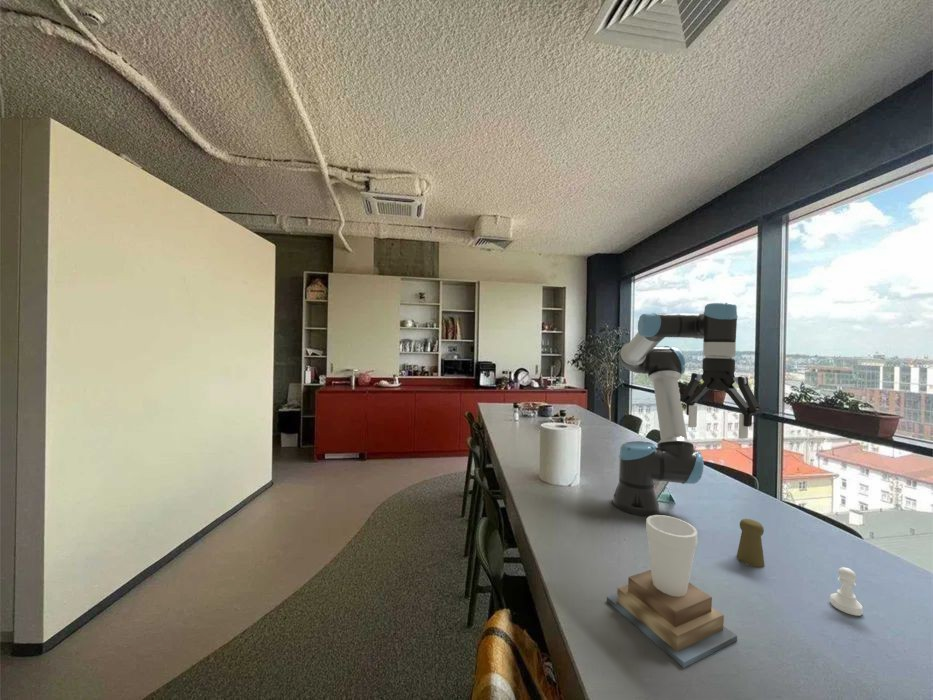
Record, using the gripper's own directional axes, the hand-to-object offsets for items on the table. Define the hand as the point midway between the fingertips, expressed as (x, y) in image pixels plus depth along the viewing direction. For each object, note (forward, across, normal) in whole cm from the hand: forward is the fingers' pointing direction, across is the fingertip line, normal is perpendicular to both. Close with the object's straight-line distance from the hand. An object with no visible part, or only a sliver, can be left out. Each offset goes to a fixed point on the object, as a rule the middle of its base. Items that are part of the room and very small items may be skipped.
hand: (716, 432), depth 100 cm
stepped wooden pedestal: (+35, -12, +35) cm, 51 cm away
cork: (+35, -6, -7) cm, 36 cm away
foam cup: (+28, -12, +35) cm, 46 cm away
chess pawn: (+35, -25, -7) cm, 43 cm away
